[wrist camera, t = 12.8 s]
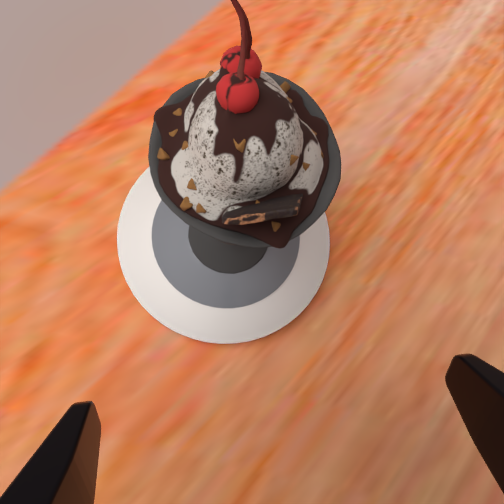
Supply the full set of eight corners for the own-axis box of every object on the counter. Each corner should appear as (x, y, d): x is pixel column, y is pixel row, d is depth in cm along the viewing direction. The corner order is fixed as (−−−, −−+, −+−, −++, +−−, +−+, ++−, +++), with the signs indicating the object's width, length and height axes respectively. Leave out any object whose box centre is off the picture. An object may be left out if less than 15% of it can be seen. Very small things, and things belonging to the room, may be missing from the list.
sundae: (204, 164, 23) (203, -126, 9) (299, 213, 23) (456, 3, 9) (151, 255, 21) (41, 80, 7) (254, 307, 22) (355, 240, 7)
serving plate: (361, 232, 25) (370, 226, 24) (237, 390, 22) (239, 393, 20) (217, 113, 26) (217, 100, 24) (75, 247, 22) (67, 241, 21)
